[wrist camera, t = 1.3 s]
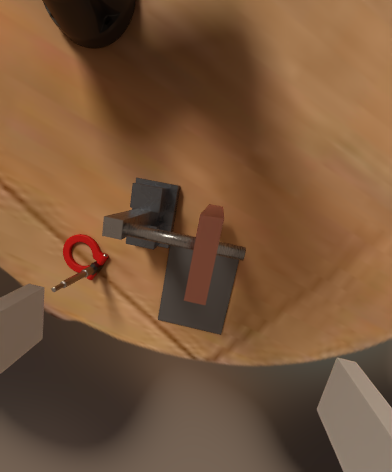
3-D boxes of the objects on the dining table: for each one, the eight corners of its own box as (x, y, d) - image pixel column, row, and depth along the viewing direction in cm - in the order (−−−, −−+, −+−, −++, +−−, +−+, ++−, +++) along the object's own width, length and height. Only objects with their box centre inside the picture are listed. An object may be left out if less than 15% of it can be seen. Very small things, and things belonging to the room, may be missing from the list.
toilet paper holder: (140, 178, 43) (84, 171, 26) (242, 197, 42) (257, 204, 24) (132, 237, 46) (78, 267, 28) (228, 258, 44) (233, 302, 27)
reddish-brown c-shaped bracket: (209, 204, 39) (200, 214, 22) (223, 206, 39) (223, 219, 22) (199, 256, 41) (183, 300, 24) (212, 258, 41) (205, 305, 24)
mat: (171, 240, 45) (170, 241, 45) (239, 255, 44) (240, 255, 44) (158, 318, 49) (157, 319, 49) (221, 333, 48) (221, 334, 48)
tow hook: (60, 255, 49) (92, 281, 49) (1, 275, 36) (45, 311, 36) (78, 226, 47) (112, 253, 47) (23, 236, 35) (69, 274, 34)
